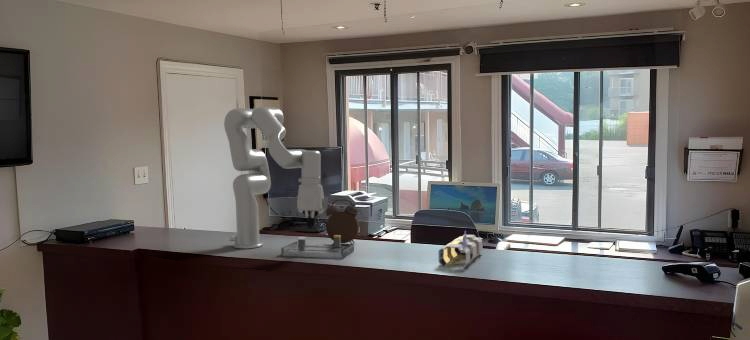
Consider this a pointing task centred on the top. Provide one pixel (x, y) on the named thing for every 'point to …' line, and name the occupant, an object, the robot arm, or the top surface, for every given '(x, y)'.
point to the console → (317, 251)
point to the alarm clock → (342, 222)
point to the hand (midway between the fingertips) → (310, 227)
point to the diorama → (461, 249)
